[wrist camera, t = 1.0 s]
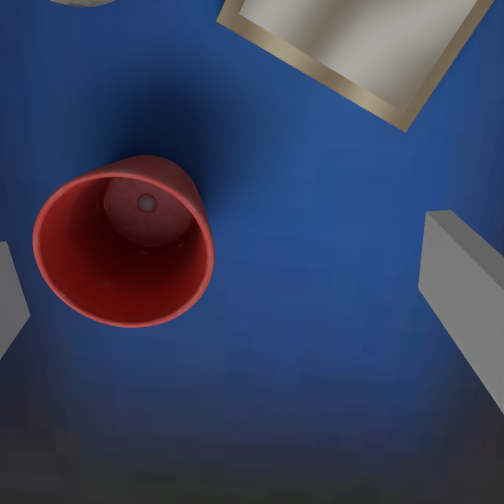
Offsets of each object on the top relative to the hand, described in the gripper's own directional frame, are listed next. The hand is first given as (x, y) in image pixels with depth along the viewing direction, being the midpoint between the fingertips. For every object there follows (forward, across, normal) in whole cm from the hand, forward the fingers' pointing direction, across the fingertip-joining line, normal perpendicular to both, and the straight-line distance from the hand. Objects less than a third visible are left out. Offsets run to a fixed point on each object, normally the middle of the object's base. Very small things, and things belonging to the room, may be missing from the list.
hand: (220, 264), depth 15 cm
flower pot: (+22, -7, -6) cm, 24 cm away
